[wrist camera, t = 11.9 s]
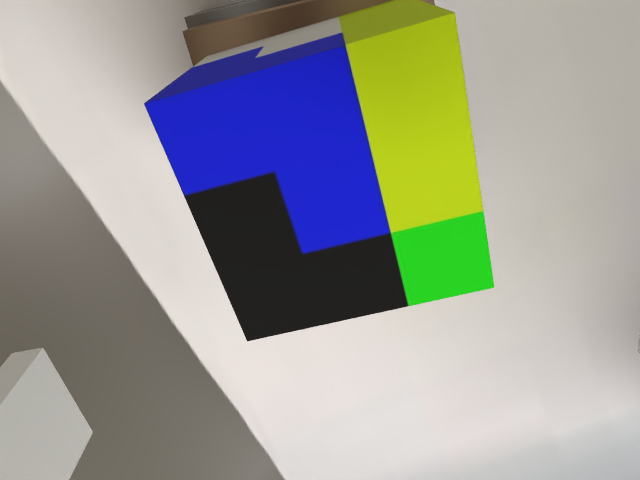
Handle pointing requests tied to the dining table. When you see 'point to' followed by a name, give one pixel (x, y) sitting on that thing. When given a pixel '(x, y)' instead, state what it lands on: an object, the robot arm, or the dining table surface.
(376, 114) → the puzzle toy
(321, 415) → the dining table surface
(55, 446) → the robot arm
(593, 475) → the dining table surface
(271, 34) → the plinth
